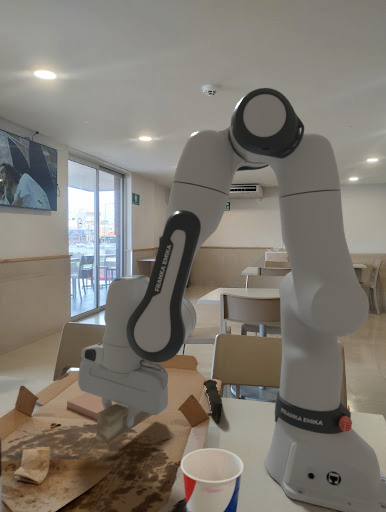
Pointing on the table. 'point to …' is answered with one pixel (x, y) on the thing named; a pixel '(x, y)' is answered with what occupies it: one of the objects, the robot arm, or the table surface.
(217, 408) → the hand tool
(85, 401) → the tile
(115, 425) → the gray bar
